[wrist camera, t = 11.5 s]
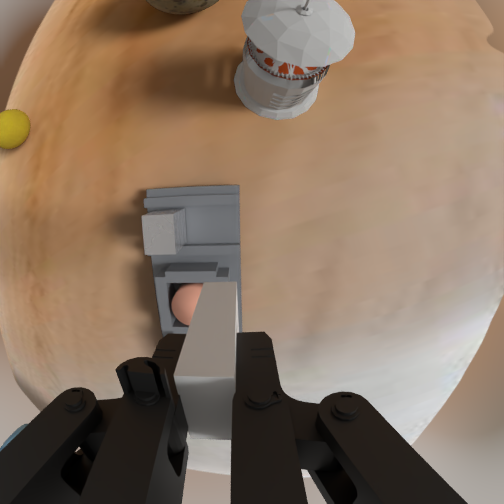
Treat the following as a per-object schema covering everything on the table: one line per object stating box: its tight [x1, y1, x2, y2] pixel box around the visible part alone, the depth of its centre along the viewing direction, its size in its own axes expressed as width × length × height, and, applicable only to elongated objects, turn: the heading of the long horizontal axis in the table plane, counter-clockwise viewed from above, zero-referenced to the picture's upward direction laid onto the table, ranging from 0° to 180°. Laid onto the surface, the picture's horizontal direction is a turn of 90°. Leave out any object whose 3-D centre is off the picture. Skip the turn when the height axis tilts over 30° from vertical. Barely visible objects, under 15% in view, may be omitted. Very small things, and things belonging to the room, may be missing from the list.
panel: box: [144, 185, 242, 337], centre depth 30 cm, size 10×24×5 cm, turn 0°
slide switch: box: [142, 208, 187, 255], centre depth 26 cm, size 3×4×5 cm
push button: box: [172, 283, 204, 325], centre depth 29 cm, size 4×4×3 cm
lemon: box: [0, 109, 30, 149], centre depth 22 cm, size 6×6×8 cm
